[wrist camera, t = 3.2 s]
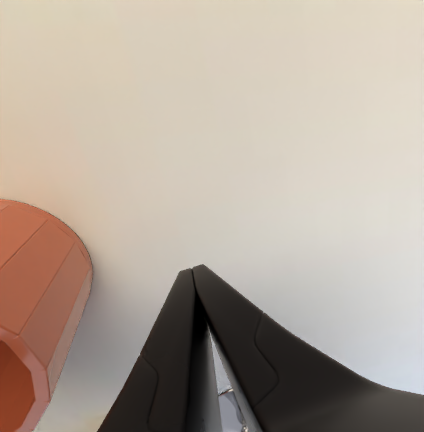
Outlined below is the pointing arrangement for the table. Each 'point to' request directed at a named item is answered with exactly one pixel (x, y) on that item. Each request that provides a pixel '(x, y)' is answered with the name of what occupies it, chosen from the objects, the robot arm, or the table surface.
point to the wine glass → (231, 413)
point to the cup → (36, 308)
